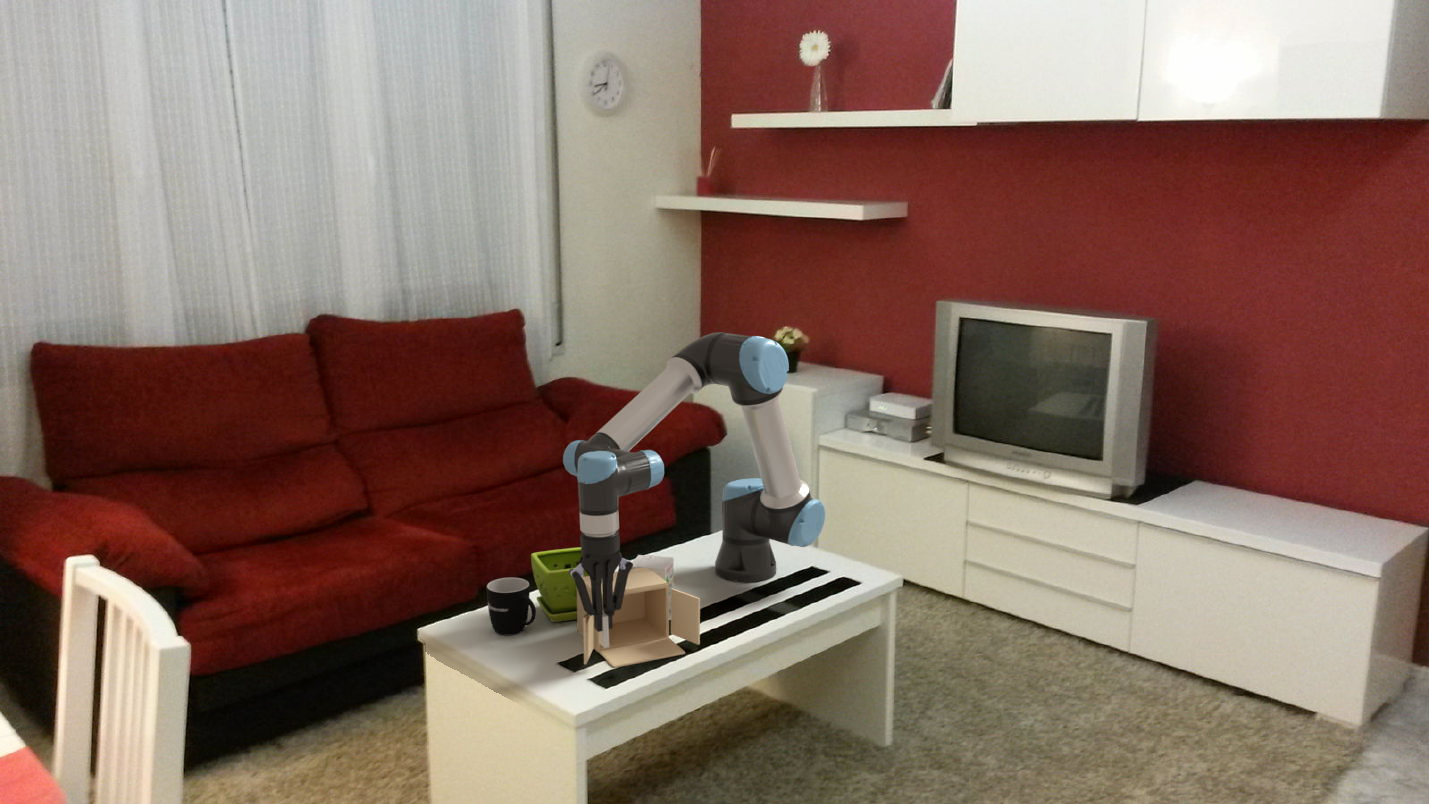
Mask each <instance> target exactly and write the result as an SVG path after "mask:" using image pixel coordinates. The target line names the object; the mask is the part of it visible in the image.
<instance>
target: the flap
mask: <svg viewBox="0 0 1429 804" xmlns="http://www.w3.org/2000/svg"><path fill="white" fill-rule="evenodd" d="M583 630H584V638H583V664H584V665H587V663H588V661H589V659H590V657H591V654H592V652H593V650H594V628H593V615H592V616H590V615H589V614H588V613H586V614H585V615H584V617H583Z"/></svg>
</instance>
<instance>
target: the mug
mask: <svg viewBox="0 0 1429 804" xmlns="http://www.w3.org/2000/svg"><path fill="white" fill-rule="evenodd" d="M530 588H531V587H530V583H529V581H528V580H526V579H524V578H520V577H502V578H497V579H494V580H491V581H490V582H488V583H487V585H486V599H487V607H488V615H489V619H490V623H491V624H490V625H491V627H492V630H494V632H495V633H496V634H497V635H502V636H511V635H512V636H514V635H517V634H520V633H522V632H523V631H524V630H525V629H526V626H530V625H531V624H533V623H534V621H535V620H536V617H537V609H536V605H535V603H534V602H533V601H532V599H531V598H530V594H531V593H530ZM529 608H530V612H531V617H530V619H529V621H528V616H529Z"/></svg>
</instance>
